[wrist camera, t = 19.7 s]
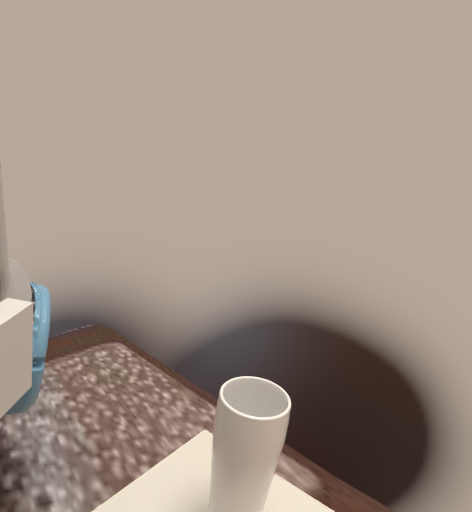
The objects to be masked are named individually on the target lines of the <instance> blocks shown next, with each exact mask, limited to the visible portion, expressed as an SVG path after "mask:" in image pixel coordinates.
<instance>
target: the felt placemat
mask: <svg viewBox="0 0 472 512" xmlns="http://www.w3.org/2000/svg"><path fill="white" fill-rule="evenodd" d="M212 440H213V434H211V433H210V432H208V431H207V430H204V431H202V432H201V433H199V434H198V435H197V436H195V437H194V438H192V439H191V440H190V441H188V442H187V443H186V444H184V445H183V446H181V447H180V448H179V449H177V450H176V451H175V452H173V453H172V454H170V455H169V456H168V457H166V458H165V459H164V460H162V461H161V462H159V463H158V464H157V465H155V466H154V467H152V468H151V469H150V470H148V471H147V472H146V473H144V474H143V475H141V476H140V477H139V478H137V479H136V480H135V481H133V482H132V483H130V484H129V485H128V486H126V487H125V488H124V489H122V490H121V491H119V492H118V493H117V494H115V495H114V496H113V497H111V498H110V499H108V500H107V501H106V502H104V503H103V504H101V505H100V506H99V507H97V508H96V509H95V510H93V511H92V512H207V510H208V504H209V493H210V476H211V458H212ZM263 512H334V511H333V510H331V509H330V508H328V507H327V506H325V505H323V504H322V503H320V502H319V501H317V500H316V499H314V498H312V497H311V496H309V495H308V494H306V493H304V492H303V491H301V490H300V489H298V488H297V487H295V486H293V485H292V484H290V483H289V482H287V481H286V480H284V479H282V478H281V477H279V476H278V475H276V474H274V477H273V480H272V483H271V486H270V489H269V492H268V496H267V499H266V502H265V505H264V509H263Z"/></svg>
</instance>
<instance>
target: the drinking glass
mask: <svg viewBox="0 0 472 512" xmlns="http://www.w3.org/2000/svg"><path fill="white" fill-rule="evenodd" d="M290 408H291V400H290V398H289V396H288V394H287V393H286V392H285V391H284V390H283V389H282V388H281V387H280V386H278V385H277V384H275V383H273V382H270V381H268V380H266V379H262V378H258V377H250V376H249V377H248V376H245V377H237V378H233V379H231V380H229V381H227V382H225V383H224V384H223V385H222V387H221V389H220V393H219V398H218V402H217V407H216V412H215V419H214V427H213V440H212V458H211V476H210V493H209V504H208V510H207V512H263V509H264V505H265V502H266V499H267V496H268V492H269V489H270V486H271V483H272V480H273V477H274V474H275V471H276V467H277V464H278V461H279V458H280V455H281V452H282V448H283V445H284V441H285V437H286V433H287V427H288V421H289V415H290Z"/></svg>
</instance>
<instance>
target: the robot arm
mask: <svg viewBox="0 0 472 512" xmlns="http://www.w3.org/2000/svg"><path fill="white" fill-rule="evenodd" d="M6 239H7V238H6V227H5V214H4V202H3V190H2V177H1V165H0V418H1V417H2V416H3V415H8V414H16V413H21V412H24V411H26V410H27V409H29V408H30V407H31V406H32V405H33V404H34V403H35V401H36V399H37V397H38V394H39V391H40V387H41V383H42V378H43V372H44V363H45V362H44V359H45V357H46V351H47V345H48V337H49V326H50V306H51V301H50V293H49V290H48V289H47V288H46V287H45V286H42V285H36V284H35V283H30V282H29V279H28V276H27V274H26V273H25V271H24V270H23V268H22V267H21V266H20V265H19V264H18V263H17V262H16V261H15V260H14V259H12V258H10V257H9V256H8V250H7V240H6Z"/></svg>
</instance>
